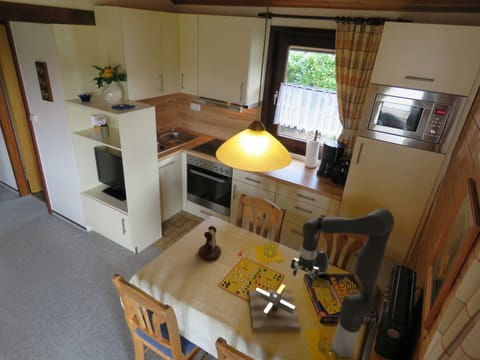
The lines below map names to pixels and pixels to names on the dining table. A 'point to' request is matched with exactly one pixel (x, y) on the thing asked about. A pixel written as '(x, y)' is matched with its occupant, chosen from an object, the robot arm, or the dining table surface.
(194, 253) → the dining table surface
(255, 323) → the level stand
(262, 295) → the capstan
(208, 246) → the dark brown tall figurine
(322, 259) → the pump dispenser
